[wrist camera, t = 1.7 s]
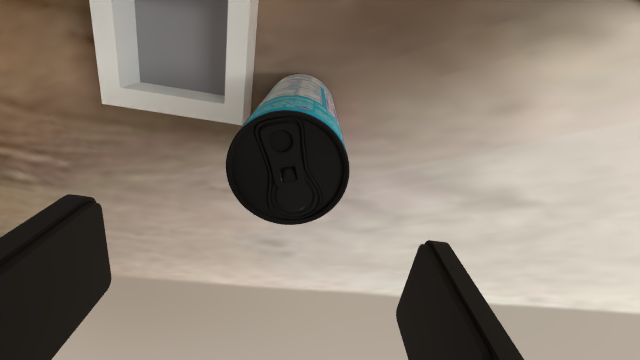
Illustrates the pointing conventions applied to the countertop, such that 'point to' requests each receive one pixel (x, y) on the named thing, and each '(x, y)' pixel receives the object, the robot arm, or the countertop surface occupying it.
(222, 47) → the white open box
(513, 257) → the countertop surface
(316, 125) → the beverage can
